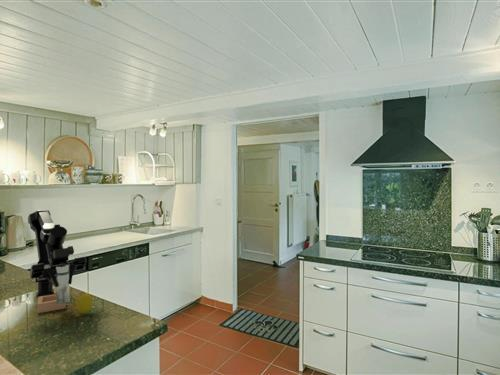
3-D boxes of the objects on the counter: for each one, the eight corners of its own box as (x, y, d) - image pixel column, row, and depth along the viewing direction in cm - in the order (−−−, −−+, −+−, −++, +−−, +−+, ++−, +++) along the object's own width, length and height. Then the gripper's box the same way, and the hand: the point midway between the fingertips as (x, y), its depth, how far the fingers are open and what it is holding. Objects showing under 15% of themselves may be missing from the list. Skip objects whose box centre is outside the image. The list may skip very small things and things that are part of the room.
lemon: (72, 315, 115) (72, 294, 115) (86, 310, 120) (86, 289, 120) (82, 318, 112) (81, 296, 112) (95, 312, 117) (95, 292, 117)
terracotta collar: (38, 305, 125) (38, 296, 125) (65, 300, 130) (65, 292, 130) (37, 313, 117) (37, 304, 117) (65, 308, 122) (65, 299, 122)
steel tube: (55, 301, 120) (55, 265, 120) (69, 298, 122) (69, 263, 122) (55, 305, 116) (55, 268, 116) (70, 302, 118) (69, 266, 118)
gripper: (31, 243, 115) (37, 279, 107) (85, 237, 128) (94, 268, 120) (27, 261, 120) (33, 295, 113) (79, 253, 134) (88, 284, 126)
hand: (63, 285), depth 118 cm, fingers closed on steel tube, 4 cm apart
